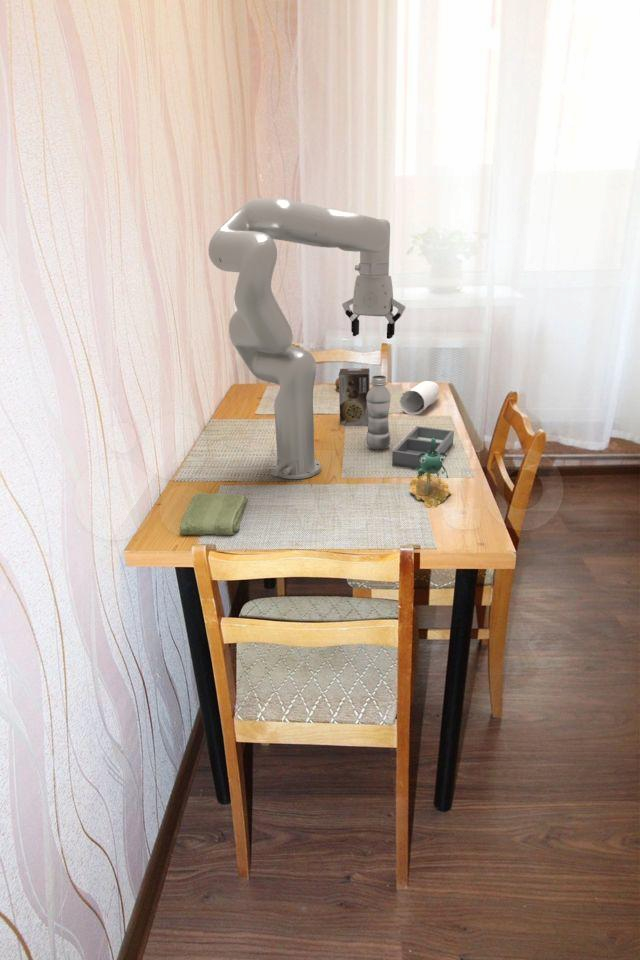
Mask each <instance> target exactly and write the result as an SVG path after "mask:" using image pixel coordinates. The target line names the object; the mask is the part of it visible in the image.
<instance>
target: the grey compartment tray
mask: <svg viewBox="0 0 640 960" xmlns="http://www.w3.org/2000/svg"><path fill="white" fill-rule="evenodd" d="M454 435H455V430H450V429H444V428H443V429H442V428H436V427H427V426H418V425H416V426H415V427H414V428H413V429H412V431H410V432H409V434H408V435H407V436H405V437H404V439H403V440H402V441H401V442H400V443H399V444H397V446H396V447H395V448H394V449H393V450H392V454H391V455H392V456H391V457H392V461H391V465H392V467H398V468H399V467H400V468H403V469H410V470H416V471H417V468H418V463H419V465H420V464H421V463H420V461H419V460H420V458H421V457H424V456H425V455H426V454H428V453H427V451H428V450H429V451H431V440H432V438H435V439H436V444H435V451H437V452H438V455H439V456H444V455H440V453H441V452H443V453H445V454H446V455H447V453H448V452H449V451H450V449H452V447H453V445H454V438H455V437H454ZM421 453H425V455H422V456H420V457H419V458H418V456H419V455H420V454H421ZM444 457H445V456H444ZM421 467H422V466H421V465H420V466H419V469H420V468H421Z"/></svg>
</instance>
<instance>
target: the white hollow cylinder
mask: <svg viewBox="0 0 640 960" xmlns="http://www.w3.org/2000/svg"><path fill="white" fill-rule="evenodd" d="M439 395H440V386H439V385H438V384H437V383H436V382H435V381H431V380H429V381H428V380H424V381H421V382H420V383H418V384H417V385H415V386H414V387H412V388H410V389H409V390H406V391H405V392H403V393H402V395H401V396H400V399H399V403H400V404H399V405H400V407H401V408H402V410H403V412H404V413H406V414H407V415H414V416H416V415H418V414H421V413H422V412H423V411H424V410H426V409H427V407H429V406H431V405H432V404H434V403H435V402H436V401H437V399H438V396H439ZM422 406H423V407H422Z"/></svg>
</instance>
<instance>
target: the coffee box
mask: <svg viewBox="0 0 640 960" xmlns="http://www.w3.org/2000/svg"><path fill="white" fill-rule="evenodd" d="M370 372H371V371H370V368H340V370H339V373H338V378H339V391H338V393H339V395H338V398H339V400H338V402H339V426H344V427H345V426H346V427H347V426H357V427H358V426H367V427H368V421H369V420H368V407H367V400H366V396H367V393H368V391H369V390H370V388H371V387H370V385H371V383H370V380H371V379H370V376H371V375H370V374H371V373H370Z"/></svg>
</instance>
